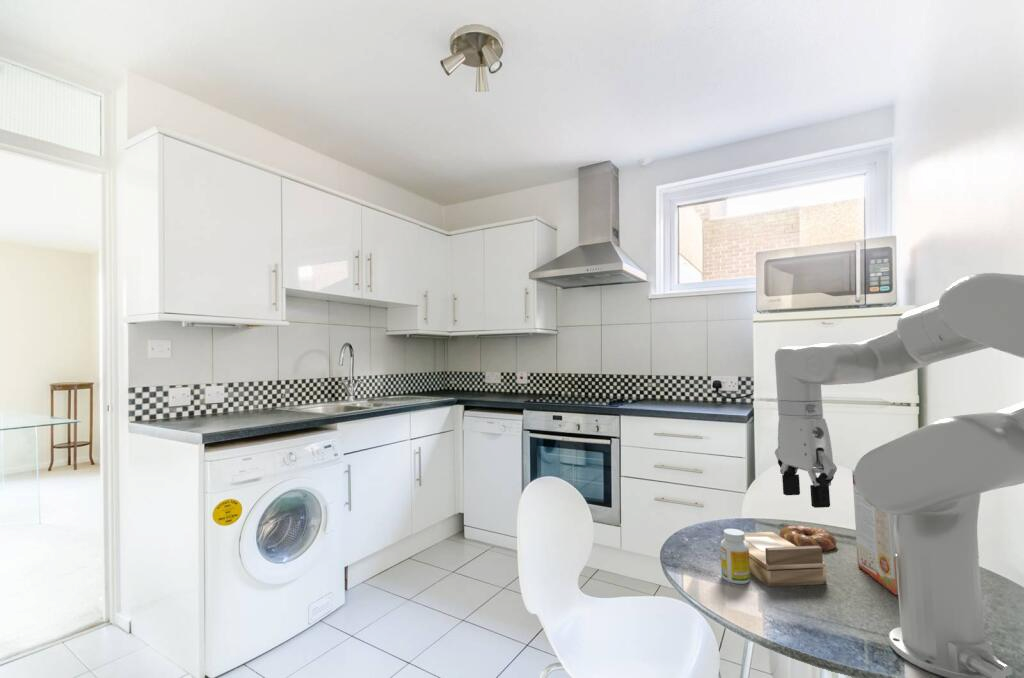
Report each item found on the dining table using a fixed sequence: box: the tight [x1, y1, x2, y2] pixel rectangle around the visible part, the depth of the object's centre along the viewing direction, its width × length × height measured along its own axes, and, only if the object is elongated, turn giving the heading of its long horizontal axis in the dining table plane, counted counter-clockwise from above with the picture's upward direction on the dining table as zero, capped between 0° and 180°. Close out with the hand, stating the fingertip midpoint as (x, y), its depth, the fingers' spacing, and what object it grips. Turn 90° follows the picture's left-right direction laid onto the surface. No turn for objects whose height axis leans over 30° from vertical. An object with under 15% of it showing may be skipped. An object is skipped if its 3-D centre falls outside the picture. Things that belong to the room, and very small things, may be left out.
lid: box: [722, 531, 826, 570], centre depth 104 cm, size 18×12×4 cm, turn 3°
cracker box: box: [852, 469, 898, 596], centre depth 96 cm, size 14×6×21 cm, turn 168°
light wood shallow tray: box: [749, 557, 827, 588], centre depth 104 cm, size 18×12×3 cm, turn 3°
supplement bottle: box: [719, 528, 751, 585], centre depth 98 cm, size 5×5×10 cm
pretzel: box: [778, 524, 838, 552], centre depth 116 cm, size 12×11×4 cm
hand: (805, 500), depth 92 cm, fingers open, 7 cm apart
